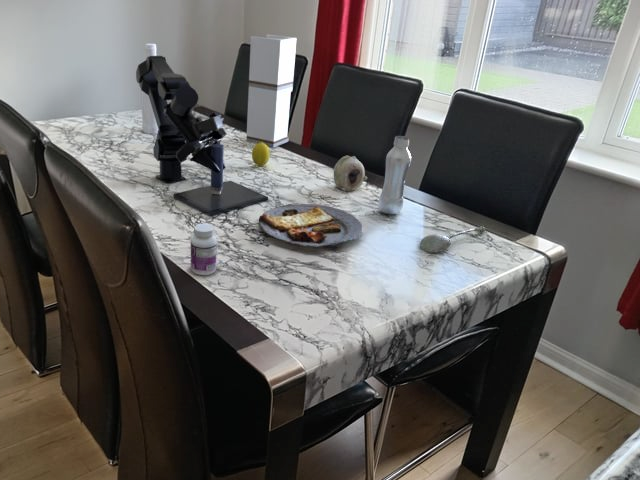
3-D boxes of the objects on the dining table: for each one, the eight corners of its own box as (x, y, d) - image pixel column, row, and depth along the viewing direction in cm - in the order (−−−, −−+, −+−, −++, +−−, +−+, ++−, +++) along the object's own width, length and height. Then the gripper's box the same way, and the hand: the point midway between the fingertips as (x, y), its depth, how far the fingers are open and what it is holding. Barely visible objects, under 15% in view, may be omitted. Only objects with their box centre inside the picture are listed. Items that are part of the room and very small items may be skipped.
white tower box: (288, 141, 211) (296, 37, 193) (273, 147, 203) (280, 40, 186) (261, 135, 216) (267, 34, 199) (246, 141, 208) (250, 36, 191)
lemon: (267, 170, 180) (268, 145, 176) (249, 168, 180) (250, 143, 177) (270, 165, 184) (271, 140, 180) (253, 163, 185) (254, 138, 181)
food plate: (288, 259, 126) (290, 245, 124) (241, 220, 144) (242, 207, 142) (379, 242, 137) (381, 228, 135) (325, 207, 154) (326, 195, 153)
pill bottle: (190, 263, 122) (190, 221, 117) (216, 264, 122) (216, 222, 118) (190, 276, 117) (190, 232, 112) (216, 276, 118) (217, 232, 113)
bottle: (162, 134, 209) (160, 46, 195) (140, 133, 209) (137, 44, 195) (165, 129, 216) (163, 43, 202) (144, 128, 216) (141, 42, 202)
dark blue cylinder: (208, 192, 157) (208, 144, 150) (217, 190, 159) (218, 143, 152) (215, 195, 155) (216, 147, 148) (224, 193, 156) (226, 146, 150)
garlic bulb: (332, 194, 171) (323, 162, 167) (348, 184, 175) (341, 152, 172) (357, 194, 164) (349, 160, 160) (374, 183, 168) (367, 150, 165)
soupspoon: (412, 247, 137) (434, 259, 132) (415, 235, 135) (437, 247, 130) (471, 227, 148) (493, 237, 143) (474, 215, 146) (497, 225, 141)
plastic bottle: (402, 210, 156) (416, 136, 146) (399, 218, 150) (414, 142, 141) (378, 206, 158) (391, 133, 148) (375, 214, 152) (387, 139, 142)
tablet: (173, 197, 155) (173, 193, 155) (230, 183, 167) (230, 180, 167) (210, 216, 145) (210, 212, 145) (268, 200, 157) (268, 196, 157)
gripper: (186, 109, 139) (226, 161, 141) (220, 96, 154) (256, 144, 156) (159, 137, 145) (197, 186, 147) (194, 122, 160) (229, 167, 162)
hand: (221, 170), depth 153 cm, fingers closed on dark blue cylinder, 3 cm apart
